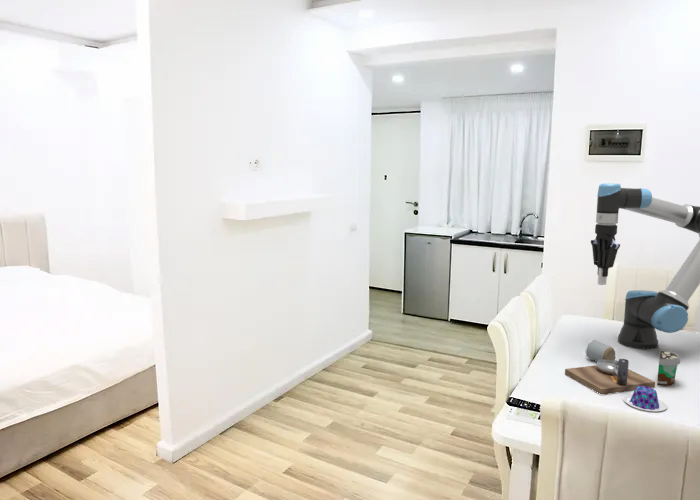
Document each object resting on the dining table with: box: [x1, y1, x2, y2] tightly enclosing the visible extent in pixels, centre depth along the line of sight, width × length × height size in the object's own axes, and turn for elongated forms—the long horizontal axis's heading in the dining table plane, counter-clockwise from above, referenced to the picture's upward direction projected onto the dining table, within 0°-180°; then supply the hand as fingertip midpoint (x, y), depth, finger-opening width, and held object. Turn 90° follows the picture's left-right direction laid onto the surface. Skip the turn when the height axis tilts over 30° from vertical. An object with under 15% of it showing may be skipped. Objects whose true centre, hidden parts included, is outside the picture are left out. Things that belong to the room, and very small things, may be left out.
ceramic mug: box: [585, 339, 617, 362], centre depth 199 cm, size 11×8×8 cm
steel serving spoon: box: [596, 358, 630, 385], centre depth 180 cm, size 18×10×8 cm, turn 167°
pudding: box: [623, 386, 668, 412], centre depth 163 cm, size 12×12×5 cm
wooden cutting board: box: [564, 364, 656, 395], centre depth 181 cm, size 22×18×2 cm
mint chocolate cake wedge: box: [656, 348, 681, 387], centre depth 179 cm, size 12×6×10 cm, turn 148°
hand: (601, 284), depth 200 cm, fingers closed
